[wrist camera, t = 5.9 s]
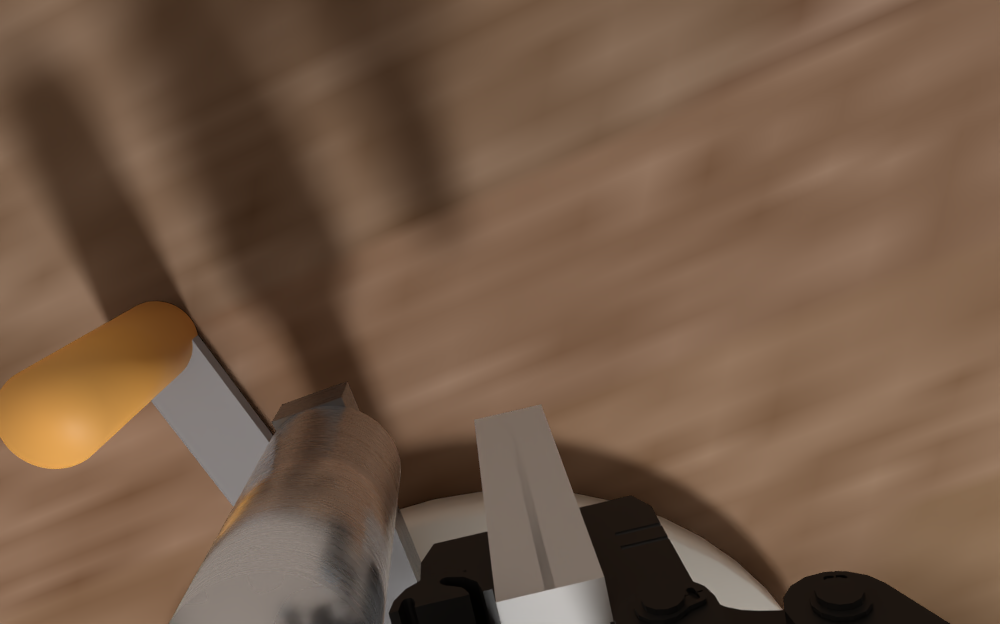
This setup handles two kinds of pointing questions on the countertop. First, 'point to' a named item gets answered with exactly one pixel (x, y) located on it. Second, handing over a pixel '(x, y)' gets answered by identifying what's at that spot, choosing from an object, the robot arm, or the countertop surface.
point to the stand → (234, 430)
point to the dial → (311, 526)
